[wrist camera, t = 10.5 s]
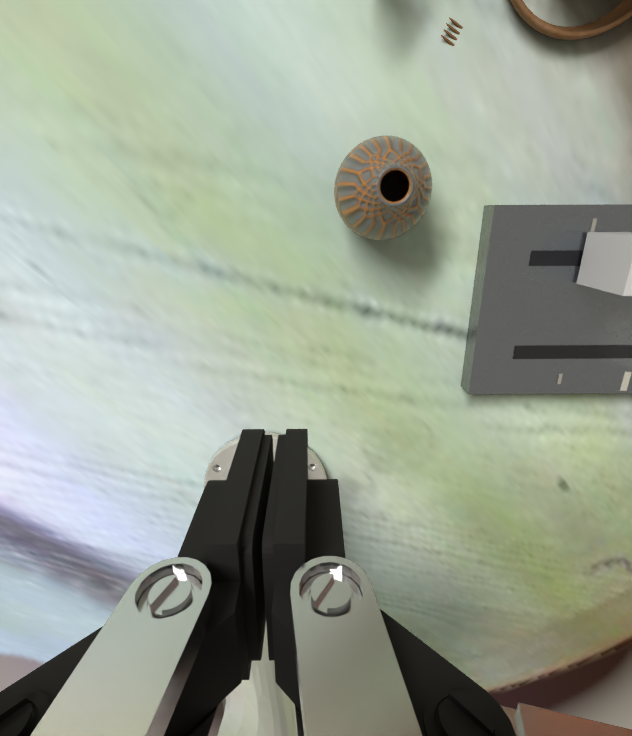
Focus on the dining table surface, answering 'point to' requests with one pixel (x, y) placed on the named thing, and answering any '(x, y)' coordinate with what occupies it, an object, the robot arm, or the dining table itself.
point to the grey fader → (607, 262)
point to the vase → (383, 188)
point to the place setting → (612, 19)
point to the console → (545, 305)
